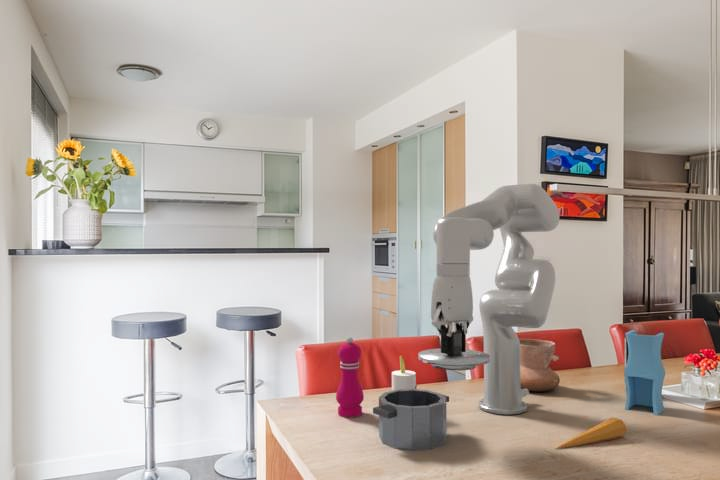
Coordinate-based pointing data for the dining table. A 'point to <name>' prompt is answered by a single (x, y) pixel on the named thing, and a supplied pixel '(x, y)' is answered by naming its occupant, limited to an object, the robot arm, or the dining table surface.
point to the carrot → (598, 433)
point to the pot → (412, 419)
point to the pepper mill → (349, 381)
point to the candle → (403, 378)
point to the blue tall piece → (644, 371)
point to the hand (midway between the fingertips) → (453, 351)
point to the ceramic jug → (537, 365)
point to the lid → (454, 356)
